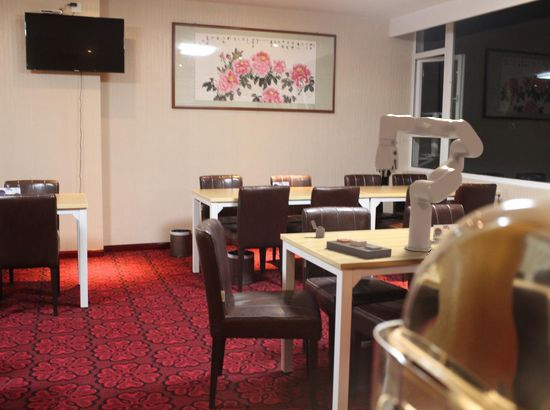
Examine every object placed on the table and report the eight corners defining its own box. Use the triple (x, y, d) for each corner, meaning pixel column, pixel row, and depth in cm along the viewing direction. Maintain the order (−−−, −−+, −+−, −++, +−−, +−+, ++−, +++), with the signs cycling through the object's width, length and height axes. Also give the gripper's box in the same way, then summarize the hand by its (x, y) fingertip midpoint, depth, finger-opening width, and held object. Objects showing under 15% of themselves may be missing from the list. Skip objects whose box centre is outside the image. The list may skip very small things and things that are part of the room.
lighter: (324, 237, 294) (325, 221, 293) (323, 237, 293) (324, 221, 292) (311, 235, 297) (312, 219, 296) (309, 236, 296) (310, 220, 295)
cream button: (358, 246, 261) (358, 239, 261) (366, 247, 257) (366, 241, 257) (350, 246, 258) (350, 240, 258) (357, 248, 254) (358, 241, 254)
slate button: (372, 252, 254) (373, 245, 254) (381, 254, 250) (381, 247, 250) (364, 253, 251) (364, 246, 251) (372, 255, 247) (373, 248, 247)
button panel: (349, 245, 273) (350, 239, 272) (391, 256, 252) (391, 249, 251) (326, 247, 265) (326, 241, 264) (367, 258, 244) (367, 251, 243)
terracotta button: (344, 245, 269) (345, 238, 268) (352, 246, 265) (352, 240, 264) (336, 245, 266) (336, 239, 266) (343, 247, 262) (344, 241, 262)
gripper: (406, 144, 253) (403, 187, 255) (381, 143, 265) (378, 184, 267) (394, 143, 249) (391, 187, 251) (368, 142, 261) (366, 184, 263)
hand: (384, 185), depth 259 cm, fingers closed
